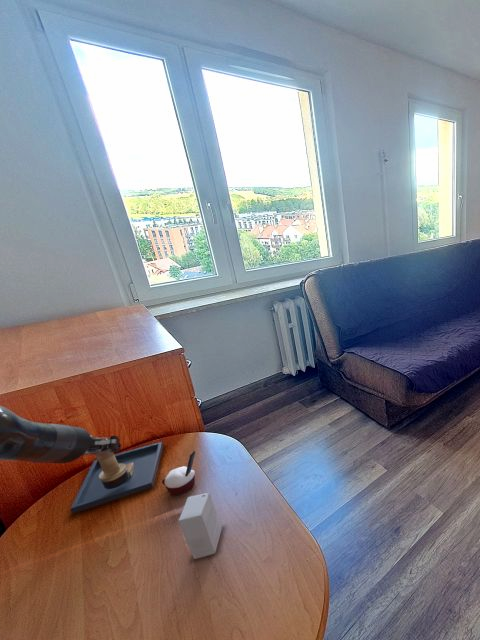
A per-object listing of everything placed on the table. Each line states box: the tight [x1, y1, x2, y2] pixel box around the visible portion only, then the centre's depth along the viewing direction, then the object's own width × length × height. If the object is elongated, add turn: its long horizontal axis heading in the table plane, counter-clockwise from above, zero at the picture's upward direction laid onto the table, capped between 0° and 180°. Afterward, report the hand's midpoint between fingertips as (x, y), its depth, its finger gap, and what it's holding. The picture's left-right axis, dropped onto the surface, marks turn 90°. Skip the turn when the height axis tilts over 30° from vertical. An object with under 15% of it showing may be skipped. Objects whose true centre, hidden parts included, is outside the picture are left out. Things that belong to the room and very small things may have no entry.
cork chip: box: [126, 463, 135, 477], centre depth 91 cm, size 4×4×2 cm
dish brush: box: [95, 436, 129, 489], centre depth 84 cm, size 5×5×13 cm
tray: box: [70, 441, 164, 514], centre depth 91 cm, size 16×18×2 cm
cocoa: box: [161, 450, 196, 496], centre depth 85 cm, size 10×6×12 cm, turn 70°
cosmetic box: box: [178, 491, 223, 560], centre depth 72 cm, size 6×4×12 cm
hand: (109, 448), depth 85 cm, fingers closed on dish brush, 3 cm apart
